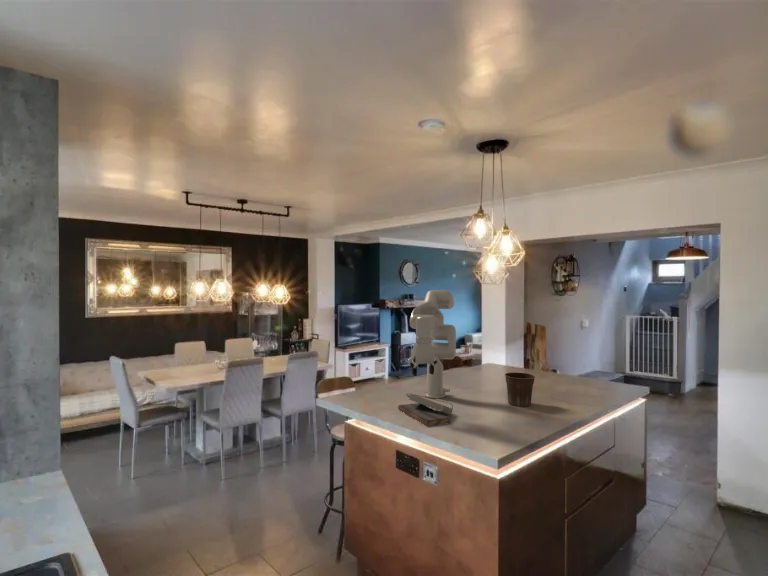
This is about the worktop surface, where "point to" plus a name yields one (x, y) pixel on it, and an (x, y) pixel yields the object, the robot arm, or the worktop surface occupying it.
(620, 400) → the worktop surface
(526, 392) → the plant pot
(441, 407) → the geiger counter
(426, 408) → the brown wooden board
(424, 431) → the worktop surface
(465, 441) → the worktop surface
